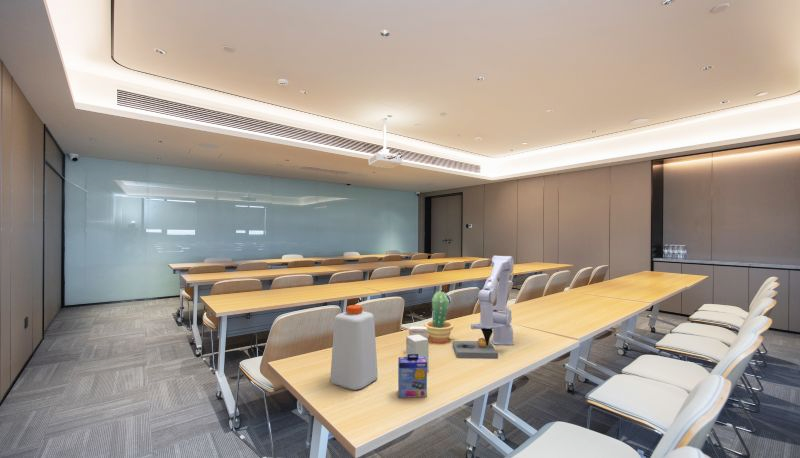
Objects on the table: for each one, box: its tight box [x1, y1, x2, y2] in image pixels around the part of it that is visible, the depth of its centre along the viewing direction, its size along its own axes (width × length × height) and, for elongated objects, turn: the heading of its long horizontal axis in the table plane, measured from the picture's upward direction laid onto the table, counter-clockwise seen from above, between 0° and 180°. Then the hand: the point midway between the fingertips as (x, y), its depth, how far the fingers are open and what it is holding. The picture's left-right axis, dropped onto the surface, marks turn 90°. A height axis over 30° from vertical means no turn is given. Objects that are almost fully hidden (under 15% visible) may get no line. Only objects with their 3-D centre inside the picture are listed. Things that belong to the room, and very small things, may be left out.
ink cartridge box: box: [397, 354, 428, 399], centre depth 116 cm, size 10×6×14 cm, turn 95°
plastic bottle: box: [329, 304, 379, 391], centre depth 127 cm, size 15×15×28 cm
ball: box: [477, 337, 486, 347], centre depth 157 cm, size 4×4×4 cm
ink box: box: [408, 325, 429, 340], centre depth 156 cm, size 9×5×12 cm, turn 84°
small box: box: [405, 334, 429, 373], centre depth 137 cm, size 8×6×13 cm
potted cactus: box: [423, 290, 454, 344], centre depth 175 cm, size 15×15×25 cm
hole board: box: [452, 340, 499, 359], centre depth 157 cm, size 18×16×2 cm
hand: (486, 344), depth 157 cm, fingers closed, pressing on ball
